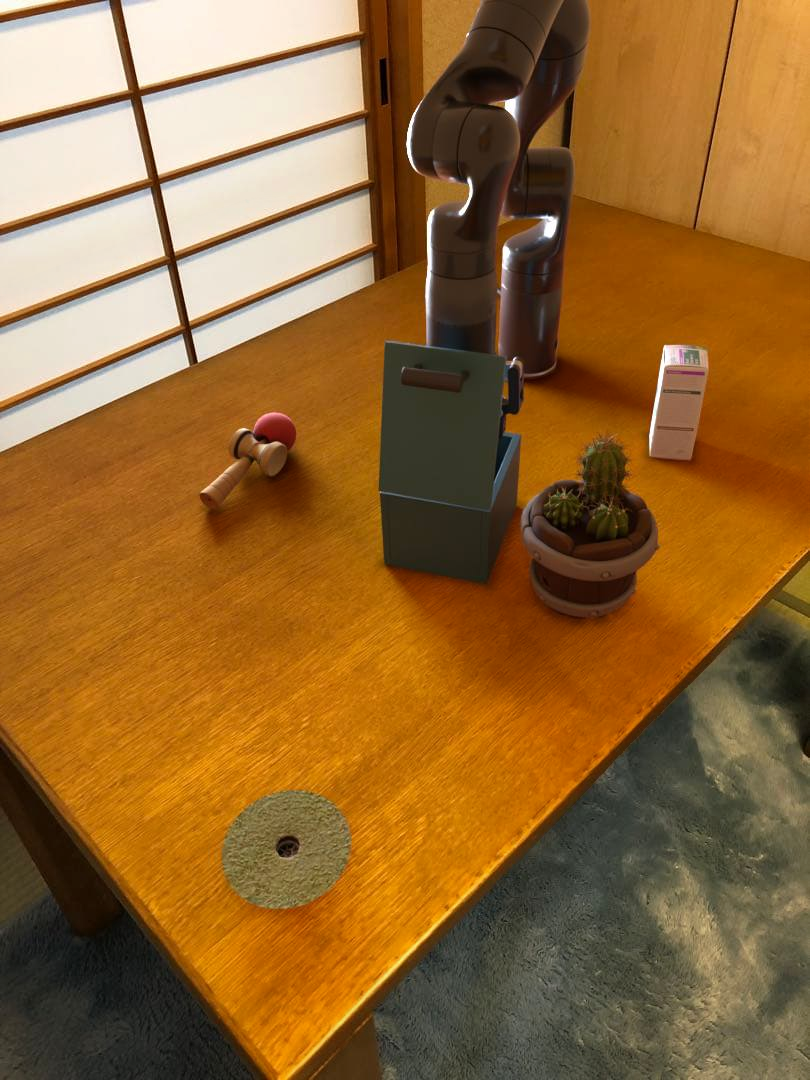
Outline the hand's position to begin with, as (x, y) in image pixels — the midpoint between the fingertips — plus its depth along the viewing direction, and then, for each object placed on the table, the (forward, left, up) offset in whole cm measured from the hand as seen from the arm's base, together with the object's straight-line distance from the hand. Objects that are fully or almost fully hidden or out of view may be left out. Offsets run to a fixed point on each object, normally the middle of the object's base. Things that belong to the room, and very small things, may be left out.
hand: (459, 433), depth 104 cm
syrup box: (-10, +32, -13) cm, 36 cm away
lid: (+8, -4, +6) cm, 10 cm away
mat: (+44, -23, -13) cm, 51 cm away
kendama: (-14, -26, -13) cm, 33 cm away
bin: (+3, -1, -13) cm, 13 cm away
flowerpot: (+15, +11, -13) cm, 23 cm away
